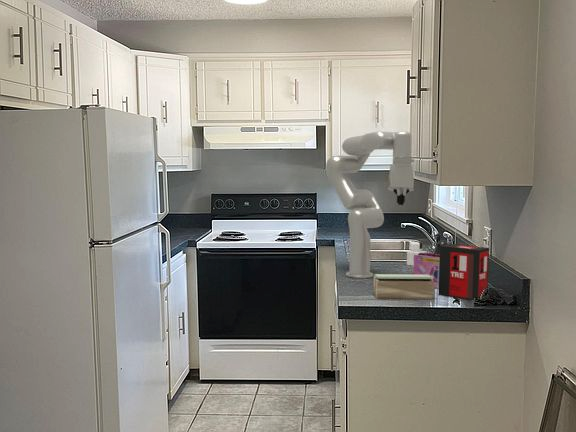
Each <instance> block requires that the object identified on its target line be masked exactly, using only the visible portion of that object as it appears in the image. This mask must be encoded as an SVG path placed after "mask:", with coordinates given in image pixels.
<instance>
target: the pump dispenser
mask: <svg viewBox="0 0 576 432" xmlns="http://www.w3.org/2000/svg"><path fill="white" fill-rule="evenodd" d="M447 244H449V243H448V242H447V240H442V239H441V240H439V241H438V242H436V243H435V247H434V250H433V253H432V254H440V246H442V245H447Z"/></svg>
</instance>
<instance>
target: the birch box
mask: <svg viewBox="0 0 576 432" xmlns="http://www.w3.org/2000/svg"><path fill="white" fill-rule="evenodd" d="M434 289H435V288H434V281H433V280H432V279H378V278H376V277H375V276H374V275H373V289H372V291H373V295H374V297H376V299H377V300H378V299H379V300H380V299H381V300H385V299H386V300H390V299H391V300H414V299H415V300H433V299H434V295H435V294H434V292H435V291H434Z"/></svg>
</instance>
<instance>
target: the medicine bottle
mask: <svg viewBox="0 0 576 432" xmlns="http://www.w3.org/2000/svg"><path fill="white" fill-rule="evenodd" d="M409 245H410V246H409V251H407V252H406V266H410V265H411V266H412V267H414V260H413V259H414V255H418V253H426V251H425V250H423V242H422V241H411V242H410V244H409Z"/></svg>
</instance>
